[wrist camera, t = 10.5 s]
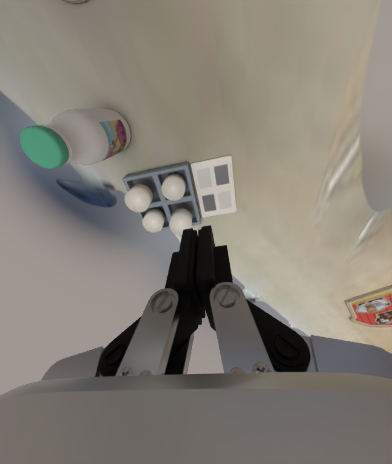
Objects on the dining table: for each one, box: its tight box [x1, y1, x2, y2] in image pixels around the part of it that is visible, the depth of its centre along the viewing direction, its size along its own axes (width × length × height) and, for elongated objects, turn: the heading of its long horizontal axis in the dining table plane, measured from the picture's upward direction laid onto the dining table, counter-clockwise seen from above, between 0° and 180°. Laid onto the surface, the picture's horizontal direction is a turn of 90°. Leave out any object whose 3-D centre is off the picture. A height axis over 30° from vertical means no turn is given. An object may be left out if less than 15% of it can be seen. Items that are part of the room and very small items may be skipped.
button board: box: [122, 162, 201, 232], centre depth 44 cm, size 15×15×3 cm
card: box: [191, 155, 236, 217], centre depth 43 cm, size 14×9×1 cm, turn 12°
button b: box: [161, 173, 186, 201], centre depth 40 cm, size 5×5×5 cm
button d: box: [169, 208, 192, 235], centre depth 42 cm, size 5×5×5 cm
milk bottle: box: [20, 109, 131, 169], centre depth 29 cm, size 8×8×20 cm
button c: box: [142, 208, 165, 232], centre depth 45 cm, size 5×5×5 cm
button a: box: [125, 184, 153, 212], centre depth 39 cm, size 5×5×5 cm
